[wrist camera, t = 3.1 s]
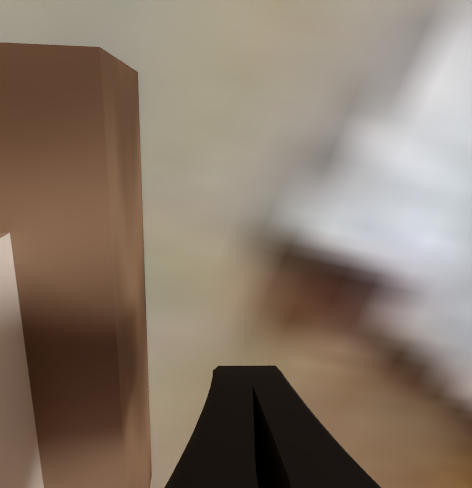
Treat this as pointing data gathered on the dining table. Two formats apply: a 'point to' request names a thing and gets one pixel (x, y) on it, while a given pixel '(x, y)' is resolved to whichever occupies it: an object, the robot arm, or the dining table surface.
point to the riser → (78, 258)
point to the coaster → (15, 387)
